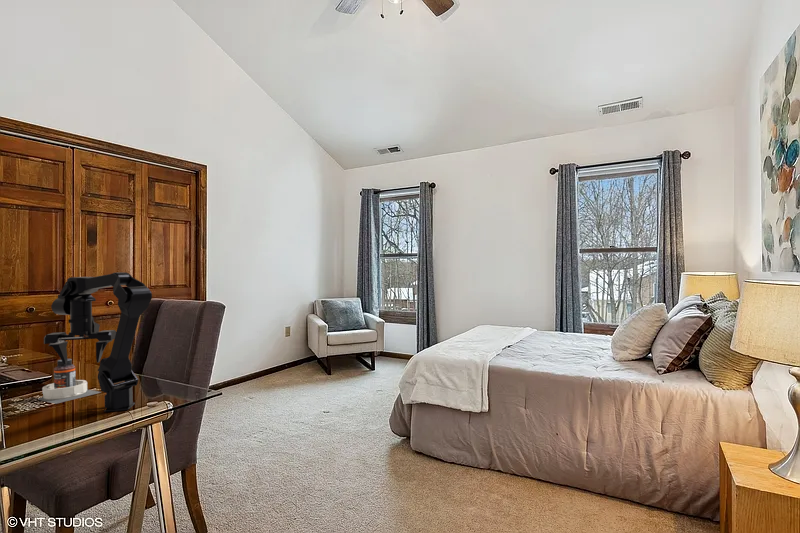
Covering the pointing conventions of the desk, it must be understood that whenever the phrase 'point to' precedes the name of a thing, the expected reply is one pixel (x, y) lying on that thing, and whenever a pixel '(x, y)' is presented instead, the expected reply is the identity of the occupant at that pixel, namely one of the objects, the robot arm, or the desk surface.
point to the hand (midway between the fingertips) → (82, 363)
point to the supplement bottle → (64, 374)
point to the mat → (89, 392)
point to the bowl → (64, 391)
